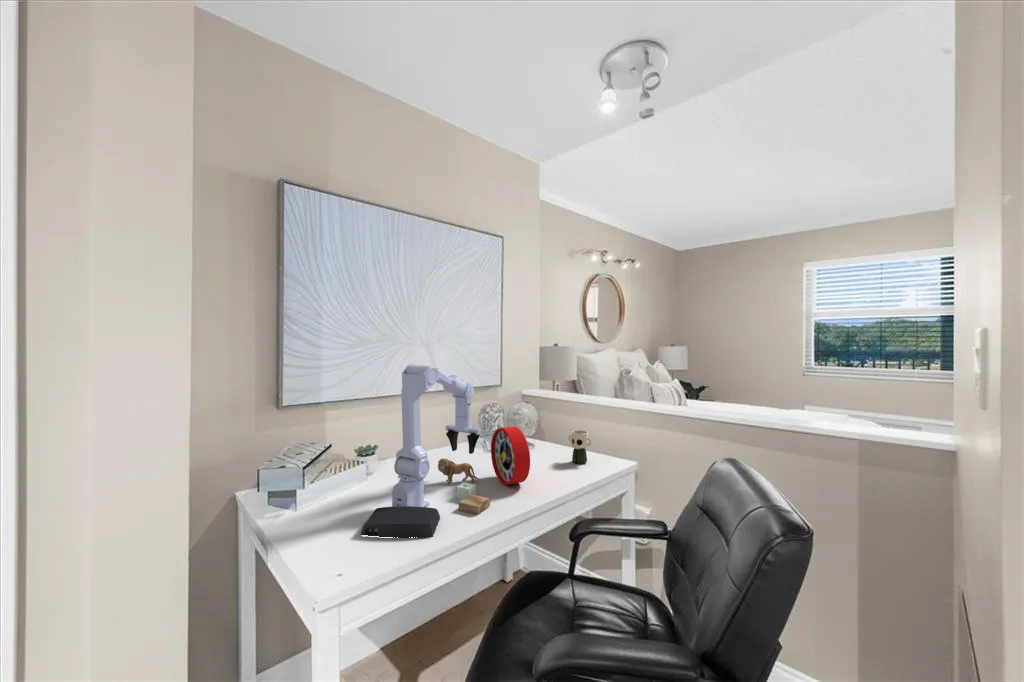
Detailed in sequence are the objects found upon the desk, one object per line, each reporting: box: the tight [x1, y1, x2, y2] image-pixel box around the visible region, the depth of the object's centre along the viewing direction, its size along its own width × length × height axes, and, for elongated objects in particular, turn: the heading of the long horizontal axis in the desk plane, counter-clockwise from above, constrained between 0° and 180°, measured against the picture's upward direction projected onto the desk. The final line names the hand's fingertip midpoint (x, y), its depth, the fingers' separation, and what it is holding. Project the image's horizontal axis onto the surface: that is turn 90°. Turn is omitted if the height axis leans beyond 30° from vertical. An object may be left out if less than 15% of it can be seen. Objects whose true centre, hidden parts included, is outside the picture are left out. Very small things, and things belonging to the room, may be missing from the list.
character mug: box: [568, 429, 592, 464], centre depth 174 cm, size 11×7×13 cm, turn 49°
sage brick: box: [456, 482, 477, 500], centre depth 136 cm, size 4×4×4 cm
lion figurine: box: [437, 458, 479, 485], centre depth 150 cm, size 15×5×9 cm, turn 107°
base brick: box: [458, 494, 491, 516], centre depth 127 cm, size 7×7×2 cm
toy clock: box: [490, 425, 531, 486], centre depth 150 cm, size 20×6×20 cm, turn 27°
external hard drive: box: [360, 506, 441, 539], centre depth 115 cm, size 13×19×4 cm
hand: (462, 451), depth 153 cm, fingers open, 7 cm apart
